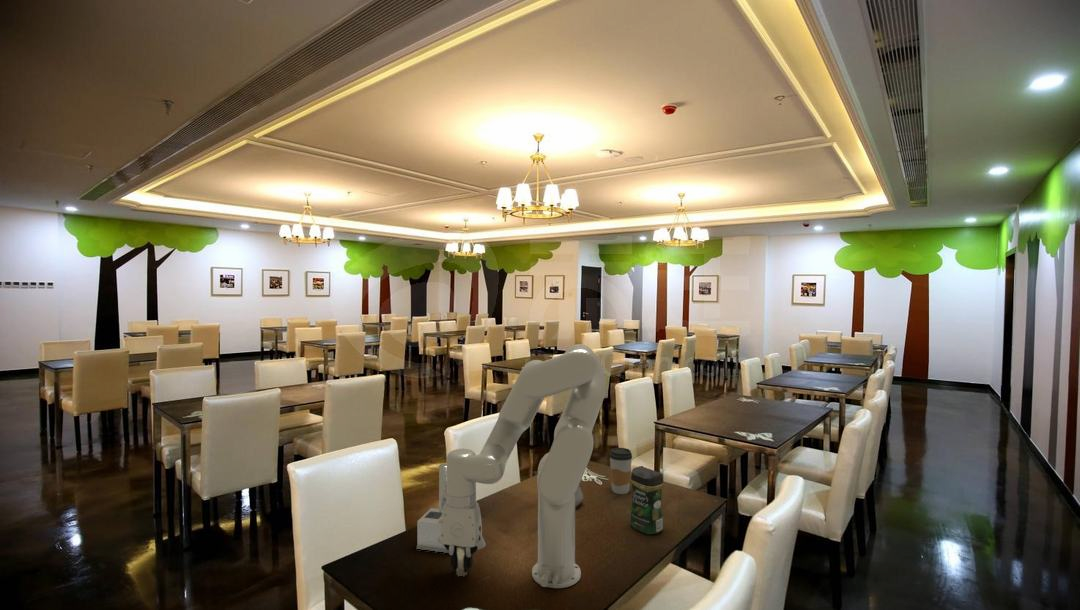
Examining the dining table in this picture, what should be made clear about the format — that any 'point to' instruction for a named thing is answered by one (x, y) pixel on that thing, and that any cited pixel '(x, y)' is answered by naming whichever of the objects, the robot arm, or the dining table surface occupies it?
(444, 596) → the dining table surface
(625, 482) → the coffee cup
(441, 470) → the pole on box base
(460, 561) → the pale grey cylinder
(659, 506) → the coffee jar
